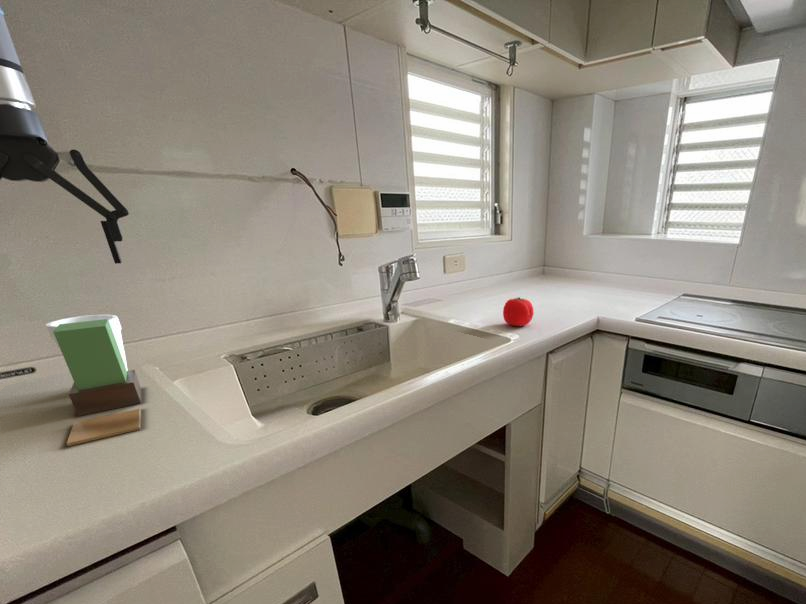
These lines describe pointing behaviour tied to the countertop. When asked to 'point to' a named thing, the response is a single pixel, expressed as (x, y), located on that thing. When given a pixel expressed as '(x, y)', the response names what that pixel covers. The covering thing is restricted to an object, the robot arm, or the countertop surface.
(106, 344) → the green block
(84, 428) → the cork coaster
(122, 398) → the walnut base
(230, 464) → the countertop surface
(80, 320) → the foam cup
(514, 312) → the tomato
